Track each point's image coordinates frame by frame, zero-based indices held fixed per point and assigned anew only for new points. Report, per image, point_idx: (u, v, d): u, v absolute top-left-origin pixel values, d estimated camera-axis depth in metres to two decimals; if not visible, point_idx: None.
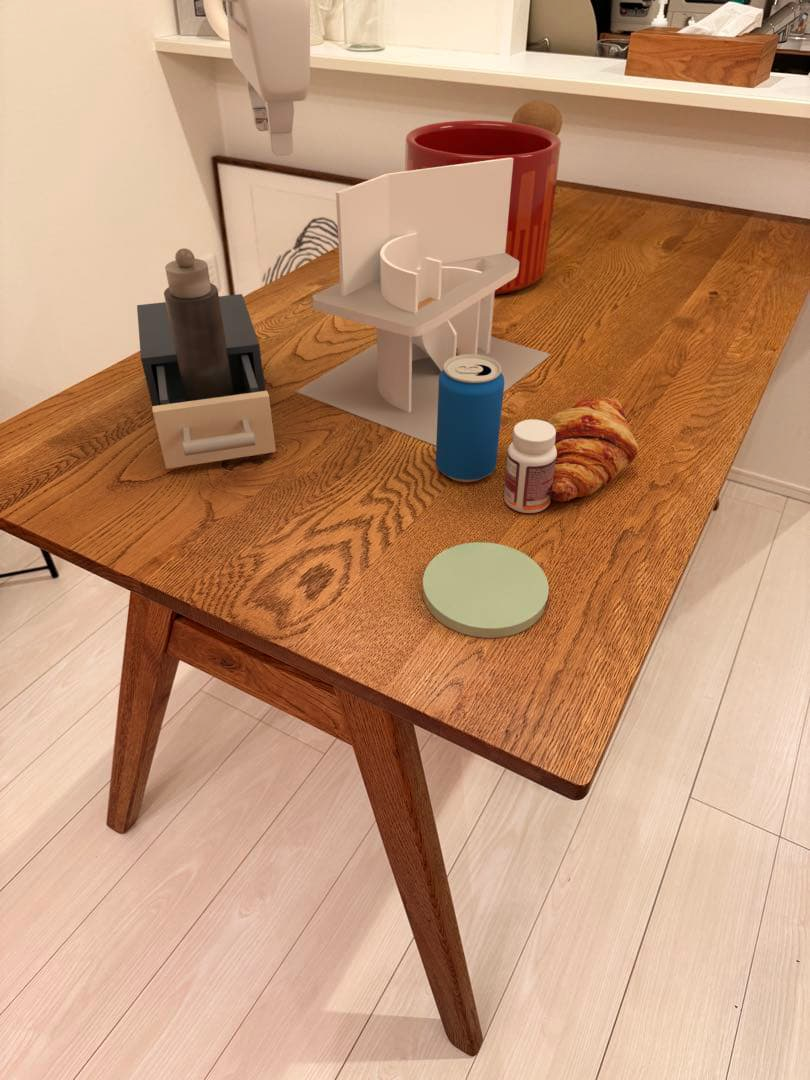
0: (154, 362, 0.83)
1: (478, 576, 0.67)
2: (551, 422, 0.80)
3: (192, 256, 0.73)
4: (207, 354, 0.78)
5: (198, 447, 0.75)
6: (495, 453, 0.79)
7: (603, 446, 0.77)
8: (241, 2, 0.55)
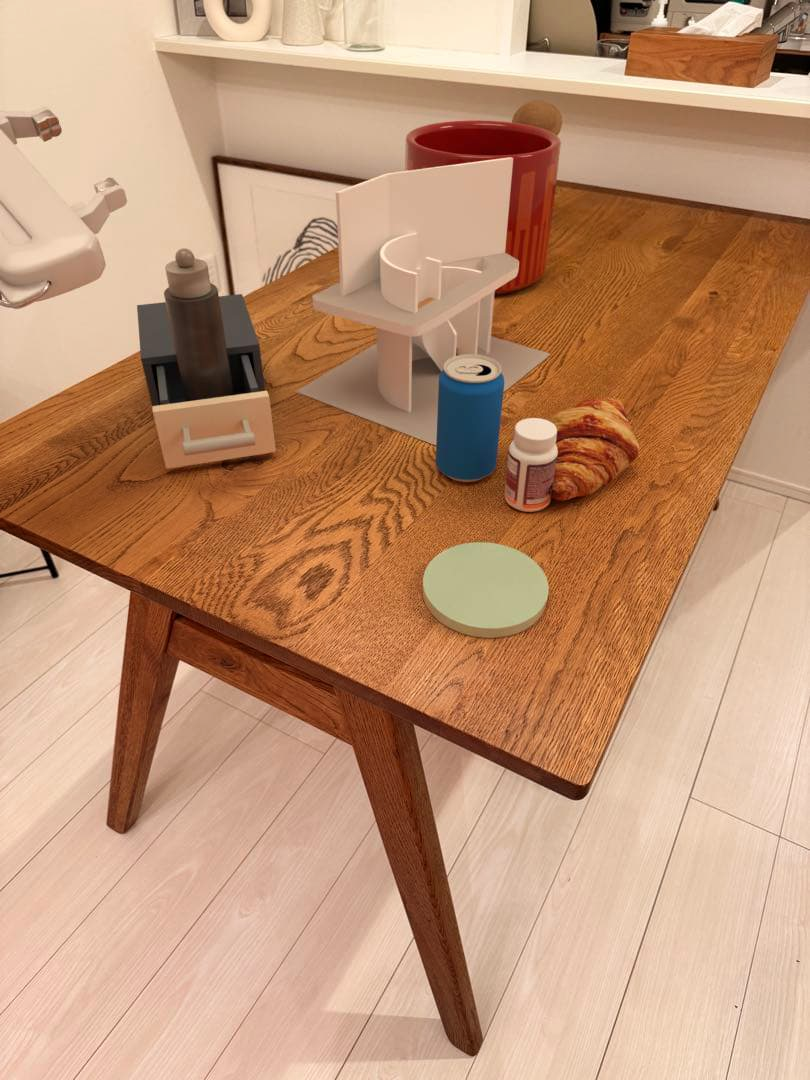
0: (154, 362, 0.83)
1: (478, 576, 0.67)
2: (553, 421, 0.80)
3: (192, 256, 0.73)
4: (207, 354, 0.78)
5: (198, 447, 0.75)
6: (495, 453, 0.79)
7: (604, 446, 0.77)
8: None
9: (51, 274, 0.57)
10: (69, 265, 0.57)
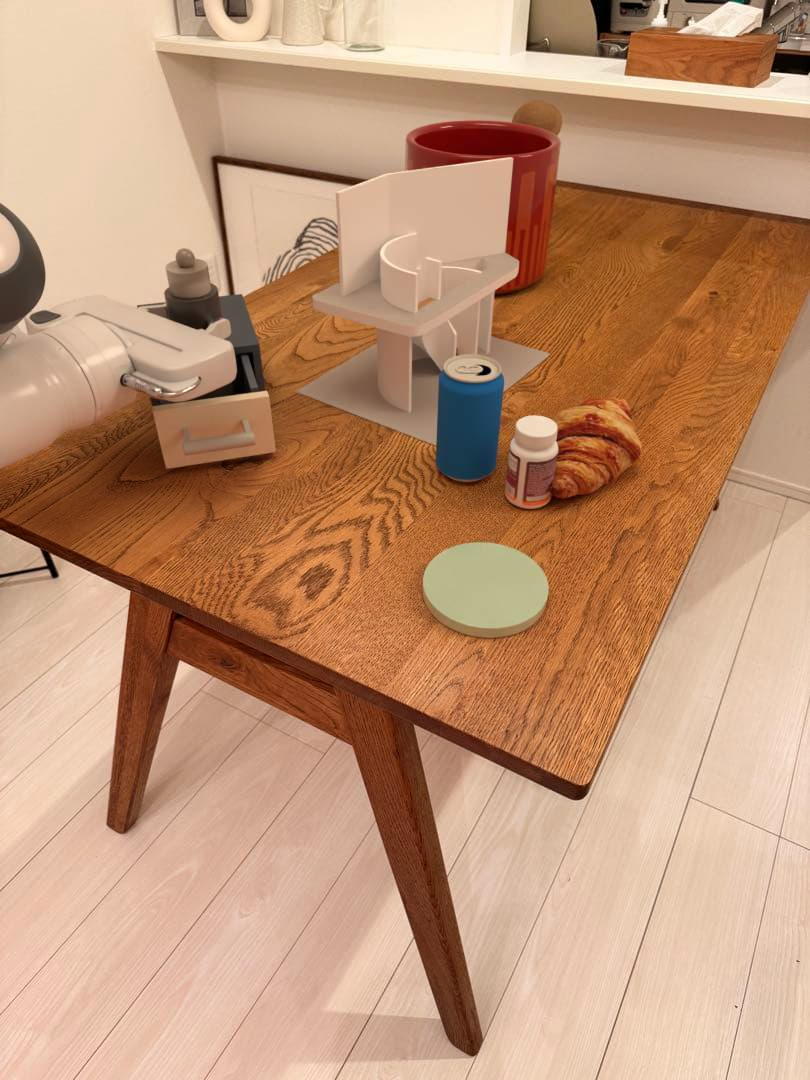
0: None
1: (478, 576, 0.67)
2: (556, 419, 0.81)
3: (192, 256, 0.73)
4: None
5: (198, 447, 0.75)
6: (495, 453, 0.79)
7: (606, 445, 0.77)
8: (51, 309, 0.73)
9: (202, 370, 0.68)
10: (214, 363, 0.68)
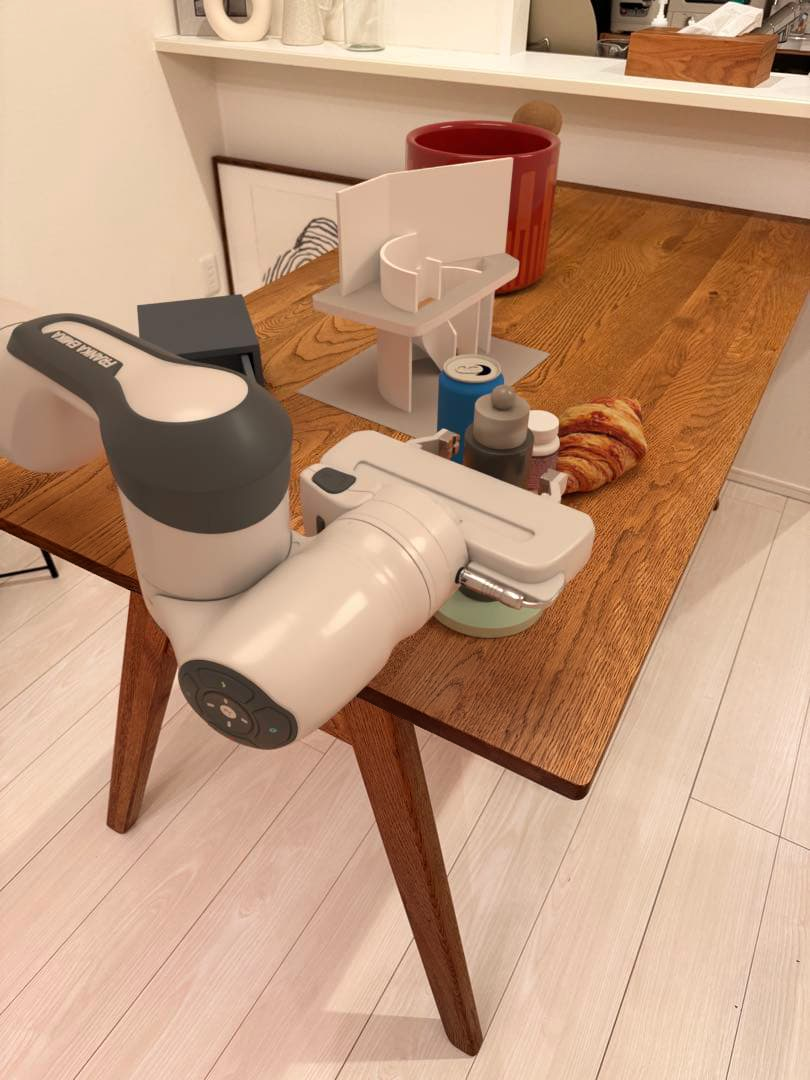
0: None
1: None
2: (562, 416, 0.81)
3: (515, 395, 0.55)
4: None
5: None
6: None
7: (610, 442, 0.78)
8: (326, 460, 0.54)
9: (567, 562, 0.49)
10: (579, 550, 0.49)
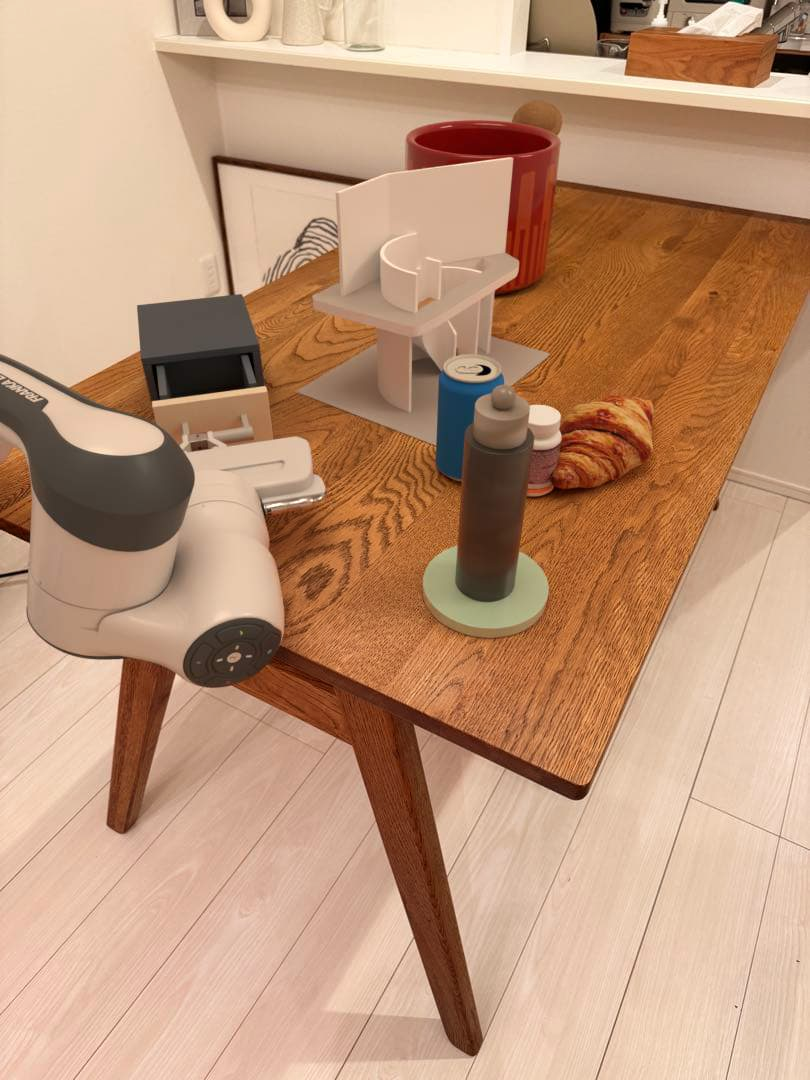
0: (154, 362, 0.83)
1: None
2: (570, 413, 0.82)
3: (515, 395, 0.55)
4: (511, 514, 0.59)
5: None
6: None
7: (614, 440, 0.78)
8: None
9: None
10: None
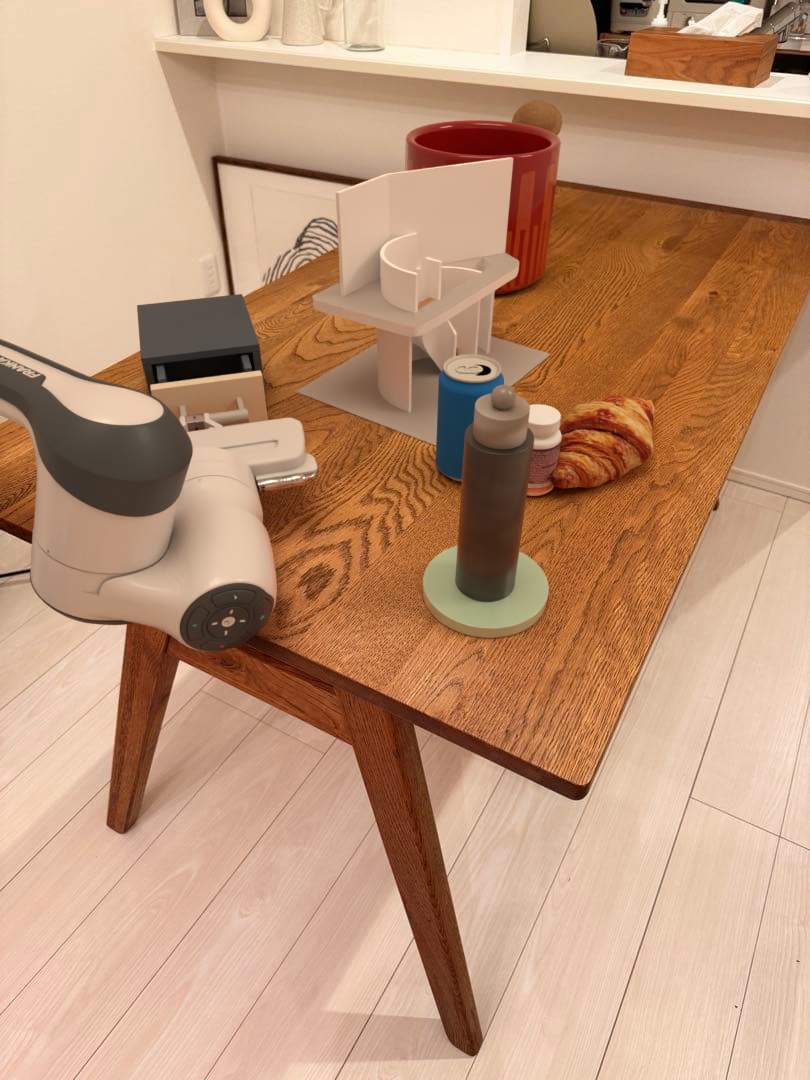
0: (154, 362, 0.83)
1: None
2: (570, 412, 0.82)
3: (515, 395, 0.55)
4: (511, 514, 0.59)
5: None
6: None
7: (614, 440, 0.78)
8: None
9: (305, 446, 0.73)
10: None
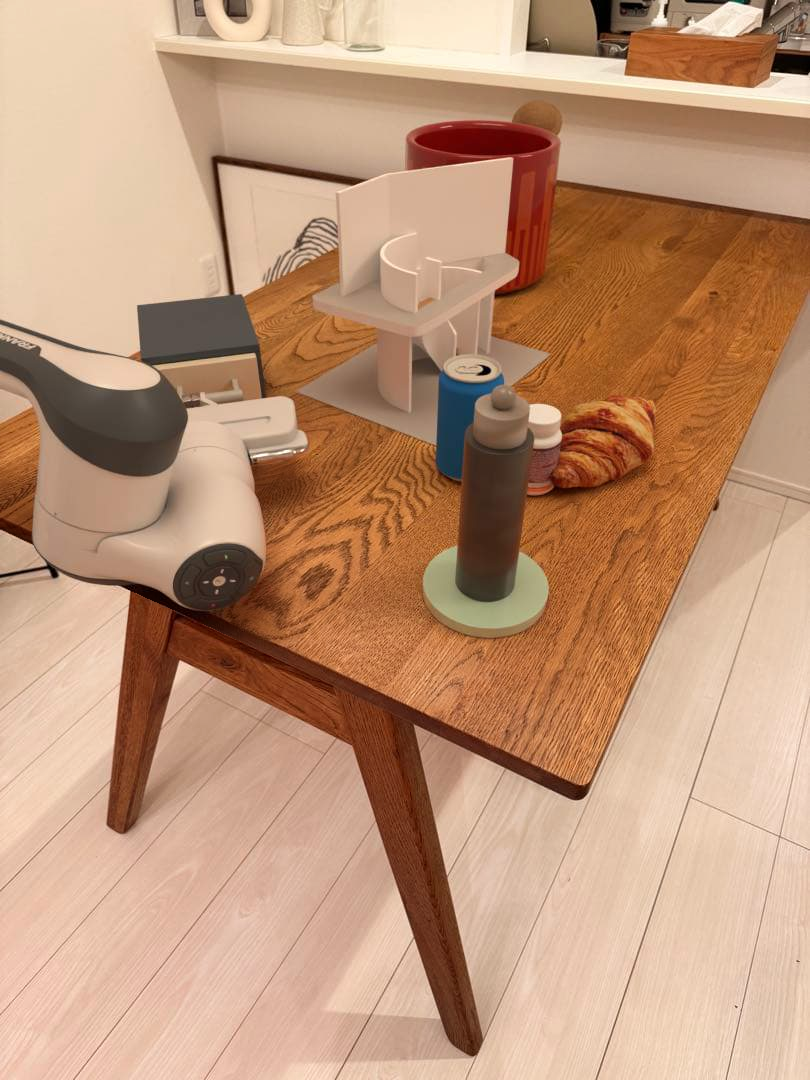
0: (154, 362, 0.83)
1: None
2: (571, 412, 0.82)
3: (515, 395, 0.55)
4: (511, 514, 0.59)
5: None
6: None
7: (614, 440, 0.78)
8: None
9: (296, 423, 0.76)
10: None
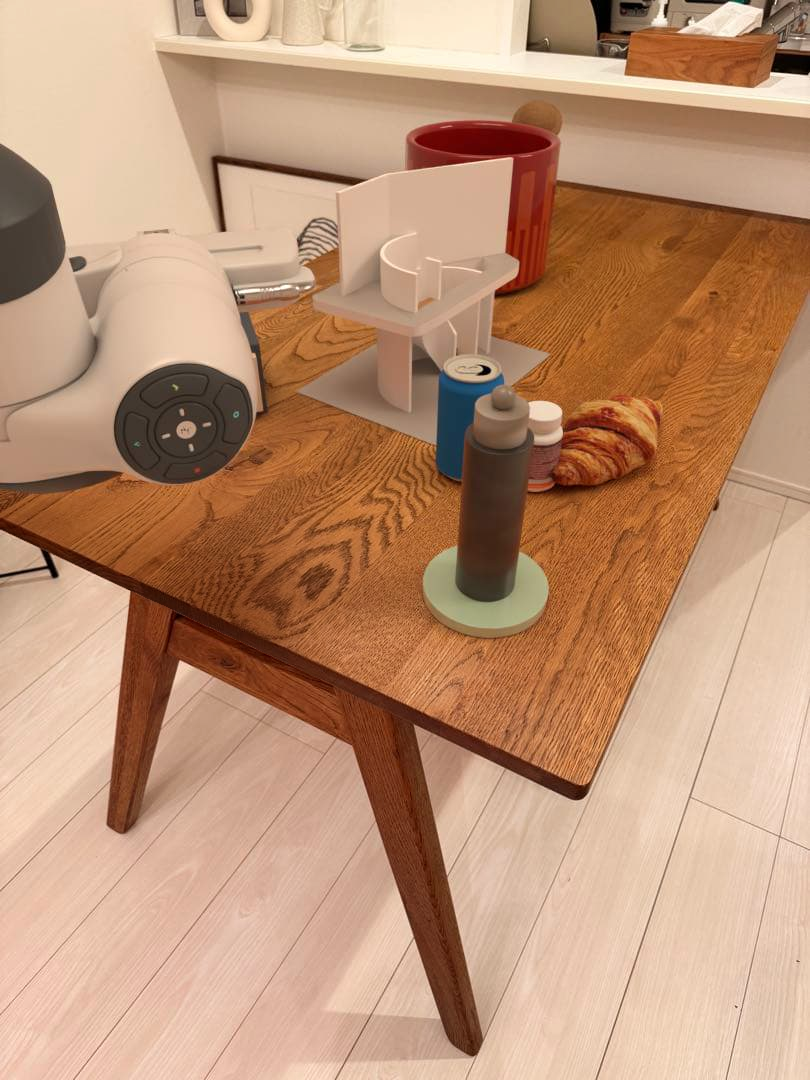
0: None
1: None
2: (575, 410, 0.82)
3: (515, 395, 0.55)
4: (511, 514, 0.59)
5: None
6: None
7: (616, 439, 0.78)
8: None
9: None
10: None
